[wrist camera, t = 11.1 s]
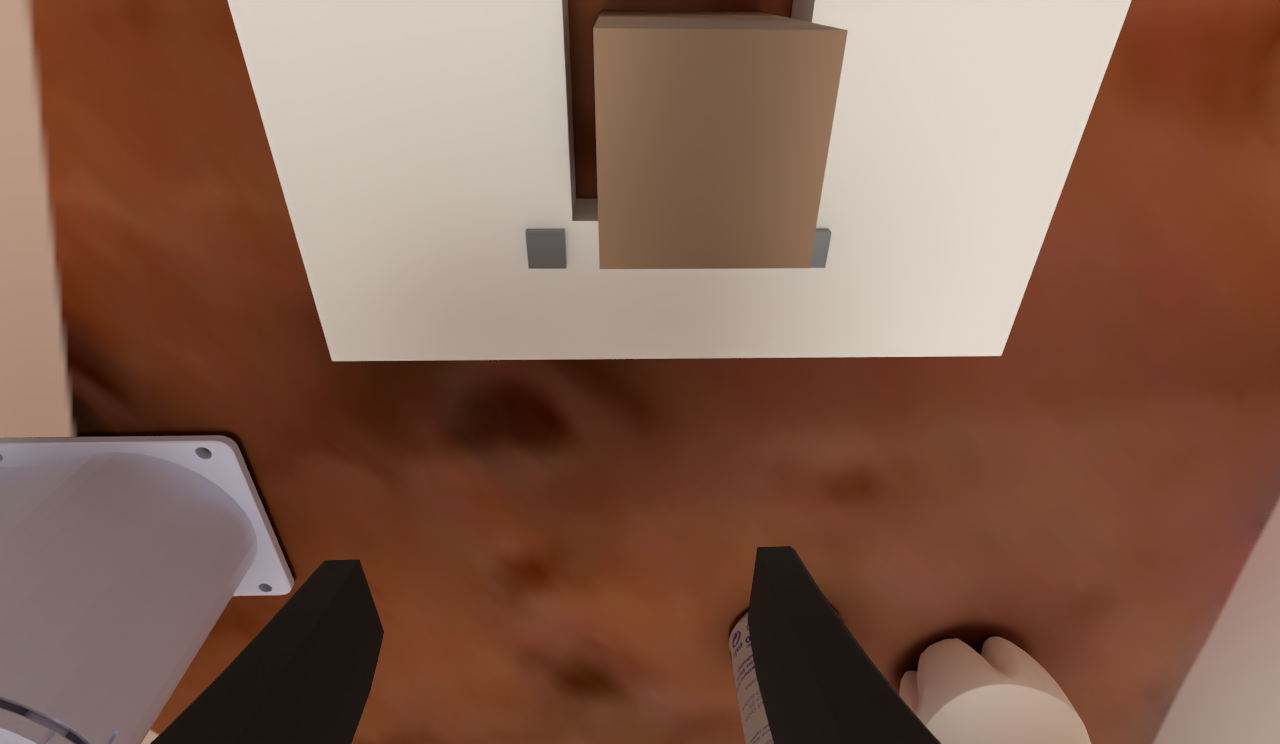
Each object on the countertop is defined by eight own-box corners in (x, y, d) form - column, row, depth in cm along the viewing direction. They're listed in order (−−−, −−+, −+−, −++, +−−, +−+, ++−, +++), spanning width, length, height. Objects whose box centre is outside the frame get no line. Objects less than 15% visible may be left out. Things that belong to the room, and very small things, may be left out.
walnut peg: (604, 172, 18) (599, 269, 12) (601, 10, 16) (592, 27, 10) (745, 173, 18) (809, 268, 12) (760, 11, 16) (847, 30, 10)
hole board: (355, 328, 20) (328, 366, 18) (197, -285, 13) (121, -333, 11) (969, 325, 21) (1006, 360, 19) (1160, -259, 13) (1252, -300, 11)
